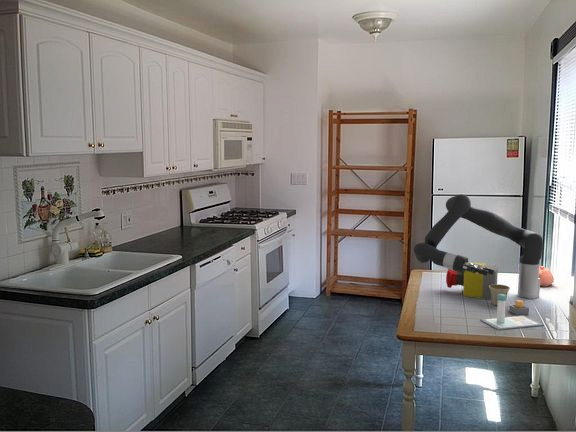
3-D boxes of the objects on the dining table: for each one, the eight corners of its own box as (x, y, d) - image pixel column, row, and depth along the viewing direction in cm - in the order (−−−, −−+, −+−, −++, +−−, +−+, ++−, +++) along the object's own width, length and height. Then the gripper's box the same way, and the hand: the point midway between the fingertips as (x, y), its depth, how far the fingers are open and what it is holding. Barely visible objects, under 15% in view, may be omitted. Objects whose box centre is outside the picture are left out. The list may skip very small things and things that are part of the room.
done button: (519, 308, 254) (520, 299, 253) (524, 310, 250) (525, 301, 250) (513, 308, 253) (513, 300, 252) (518, 311, 249) (518, 302, 249)
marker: (501, 320, 239) (503, 293, 238) (506, 322, 236) (507, 295, 234) (494, 321, 238) (496, 294, 237) (499, 323, 235) (500, 296, 233)
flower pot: (499, 308, 259) (500, 290, 257) (484, 303, 267) (484, 285, 266) (513, 305, 263) (514, 287, 262) (497, 300, 271) (498, 283, 270)
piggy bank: (554, 283, 301) (556, 265, 300) (551, 289, 290) (552, 270, 288) (531, 280, 308) (531, 262, 306) (526, 286, 296) (527, 267, 295)
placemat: (523, 316, 247) (524, 314, 247) (543, 325, 234) (543, 324, 234) (480, 320, 242) (480, 318, 242) (498, 330, 229) (498, 328, 229)
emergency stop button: (448, 287, 295) (449, 260, 293) (496, 292, 285) (498, 264, 283) (444, 294, 282) (445, 266, 280) (494, 300, 272) (495, 270, 270)
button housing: (520, 310, 255) (520, 304, 255) (528, 314, 249) (529, 307, 249) (509, 311, 254) (509, 305, 254) (517, 315, 248) (517, 308, 248)
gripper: (451, 254, 244) (487, 265, 235) (462, 254, 256) (497, 264, 246) (447, 271, 245) (483, 282, 235) (458, 269, 256) (493, 280, 247)
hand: (490, 272), depth 241 cm, fingers open, 8 cm apart
